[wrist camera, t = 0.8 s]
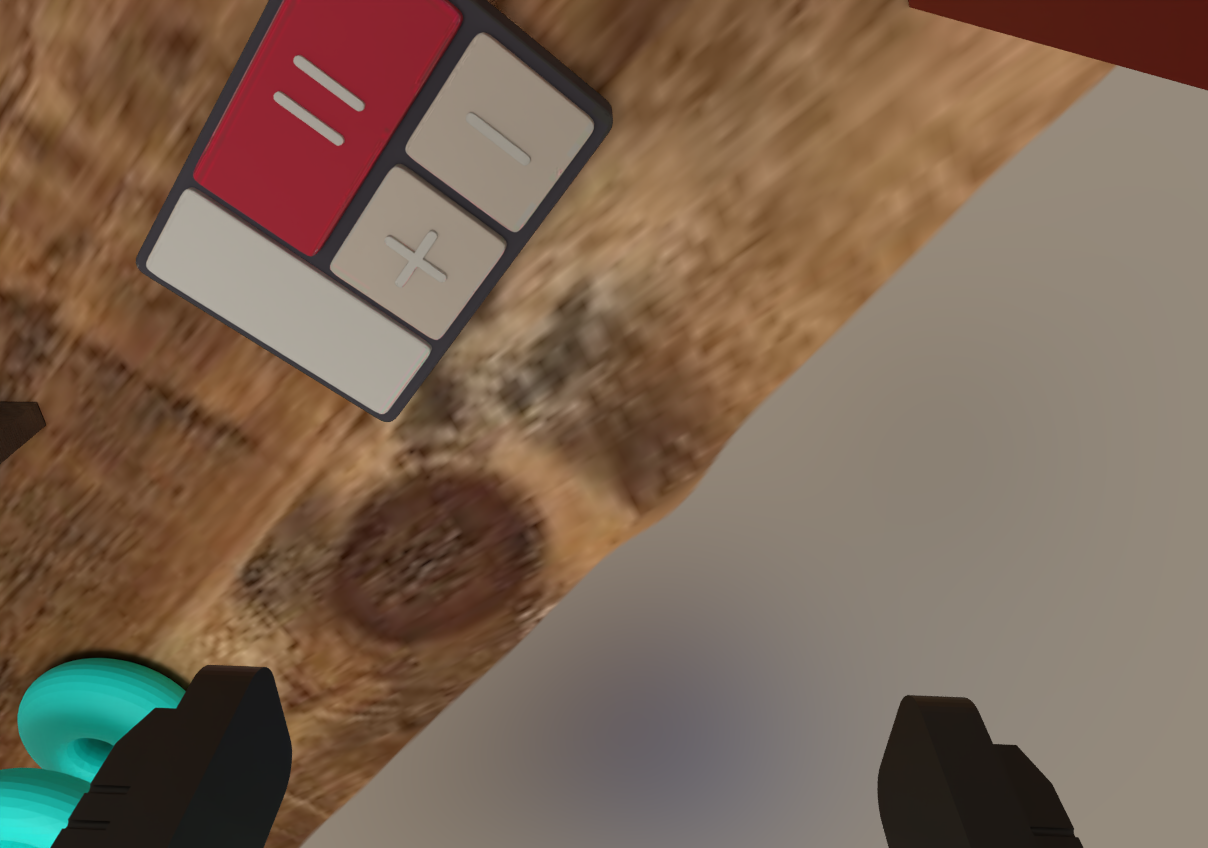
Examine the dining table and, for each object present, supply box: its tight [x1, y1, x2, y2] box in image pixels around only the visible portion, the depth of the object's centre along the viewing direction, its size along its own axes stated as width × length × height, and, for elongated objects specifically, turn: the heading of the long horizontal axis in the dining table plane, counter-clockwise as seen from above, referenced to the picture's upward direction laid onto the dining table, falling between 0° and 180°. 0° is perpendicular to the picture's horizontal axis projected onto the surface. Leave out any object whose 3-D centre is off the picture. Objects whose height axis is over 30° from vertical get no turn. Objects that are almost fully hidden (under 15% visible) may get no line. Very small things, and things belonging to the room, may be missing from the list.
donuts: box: [0, 658, 186, 848], centre depth 43 cm, size 10×10×10 cm
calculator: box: [136, 0, 613, 422], centre depth 30 cm, size 11×4×15 cm
